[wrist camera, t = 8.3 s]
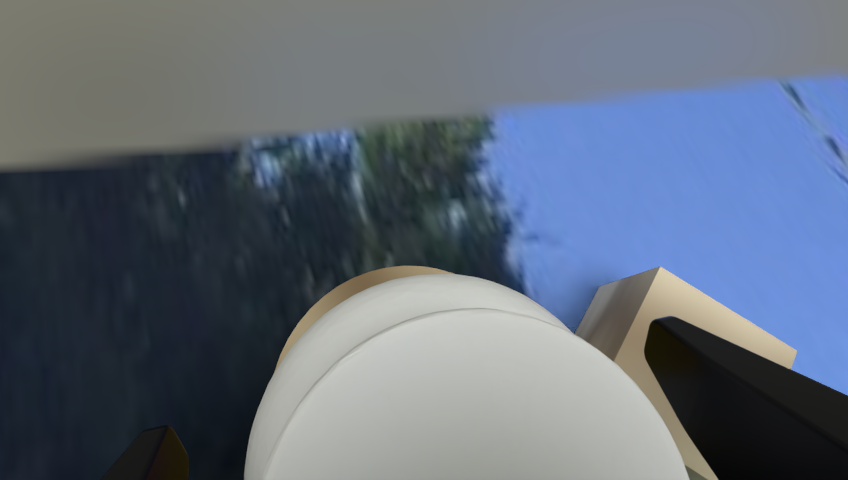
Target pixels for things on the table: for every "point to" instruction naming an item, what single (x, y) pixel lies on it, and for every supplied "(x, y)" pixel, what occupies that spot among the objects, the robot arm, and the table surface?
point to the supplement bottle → (453, 395)
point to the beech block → (628, 326)
